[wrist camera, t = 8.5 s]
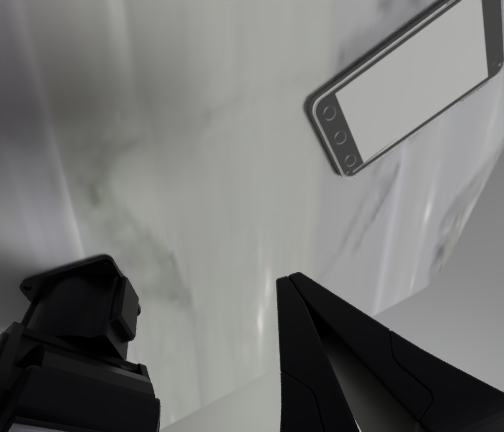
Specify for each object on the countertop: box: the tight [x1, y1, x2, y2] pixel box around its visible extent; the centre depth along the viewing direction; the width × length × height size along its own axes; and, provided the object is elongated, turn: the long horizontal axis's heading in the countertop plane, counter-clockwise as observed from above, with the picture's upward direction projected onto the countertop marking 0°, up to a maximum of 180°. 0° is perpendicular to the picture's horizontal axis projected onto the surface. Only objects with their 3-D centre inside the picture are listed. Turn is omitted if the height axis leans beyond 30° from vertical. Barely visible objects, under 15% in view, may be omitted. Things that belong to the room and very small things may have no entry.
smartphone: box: [308, 0, 504, 179], centre depth 22 cm, size 7×1×15 cm
